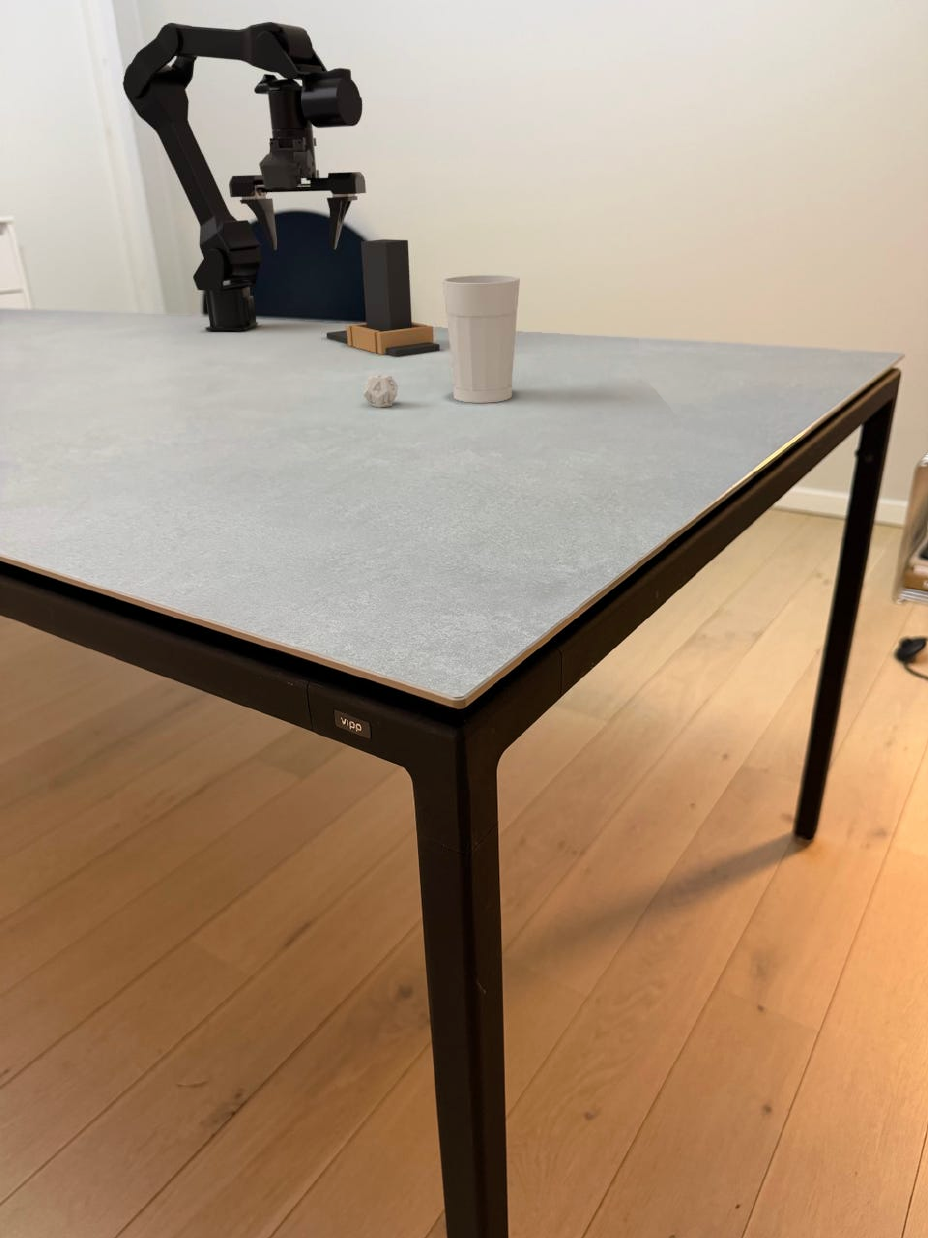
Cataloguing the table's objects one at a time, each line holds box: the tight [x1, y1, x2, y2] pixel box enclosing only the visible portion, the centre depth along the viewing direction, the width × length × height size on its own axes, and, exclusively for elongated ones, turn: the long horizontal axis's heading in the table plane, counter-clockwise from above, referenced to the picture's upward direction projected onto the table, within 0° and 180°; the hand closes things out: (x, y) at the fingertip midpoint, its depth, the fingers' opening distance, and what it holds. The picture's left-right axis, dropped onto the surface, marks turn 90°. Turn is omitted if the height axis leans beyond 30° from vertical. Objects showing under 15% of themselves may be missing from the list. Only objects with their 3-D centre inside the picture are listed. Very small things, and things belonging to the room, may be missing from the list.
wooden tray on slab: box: [326, 321, 440, 357], centre depth 131 cm, size 20×8×3 cm, turn 35°
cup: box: [441, 274, 521, 404], centre depth 97 cm, size 8×8×12 cm
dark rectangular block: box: [360, 238, 413, 332], centre depth 126 cm, size 4×4×13 cm
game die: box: [363, 373, 399, 409], centre depth 96 cm, size 4×4×3 cm
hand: (303, 249), depth 135 cm, fingers open, 9 cm apart
